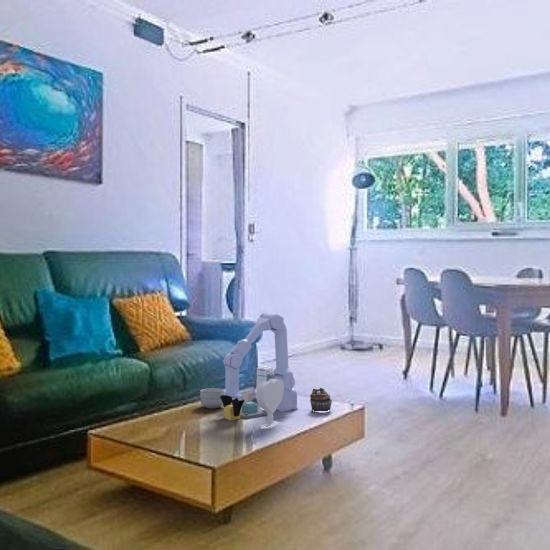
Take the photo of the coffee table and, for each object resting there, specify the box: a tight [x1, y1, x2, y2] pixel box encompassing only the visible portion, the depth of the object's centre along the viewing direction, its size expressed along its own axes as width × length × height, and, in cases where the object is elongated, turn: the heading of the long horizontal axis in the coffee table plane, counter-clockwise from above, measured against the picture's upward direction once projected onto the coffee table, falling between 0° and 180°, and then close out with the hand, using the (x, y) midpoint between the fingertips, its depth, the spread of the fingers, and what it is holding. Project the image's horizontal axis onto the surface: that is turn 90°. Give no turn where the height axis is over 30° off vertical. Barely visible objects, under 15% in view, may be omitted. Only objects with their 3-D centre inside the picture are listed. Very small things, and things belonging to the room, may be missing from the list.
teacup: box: [199, 387, 223, 409], centre depth 277 cm, size 14×11×8 cm
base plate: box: [240, 401, 267, 420], centre depth 267 cm, size 12×12×5 cm
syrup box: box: [256, 365, 274, 387], centre depth 298 cm, size 6×6×14 cm
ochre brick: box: [223, 404, 241, 421], centre depth 259 cm, size 5×5×5 cm
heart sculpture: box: [255, 379, 284, 427], centre depth 250 cm, size 16×5×18 cm, turn 148°
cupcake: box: [309, 387, 333, 411], centre depth 272 cm, size 10×10×10 cm
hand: (232, 414), depth 259 cm, fingers open, 7 cm apart
